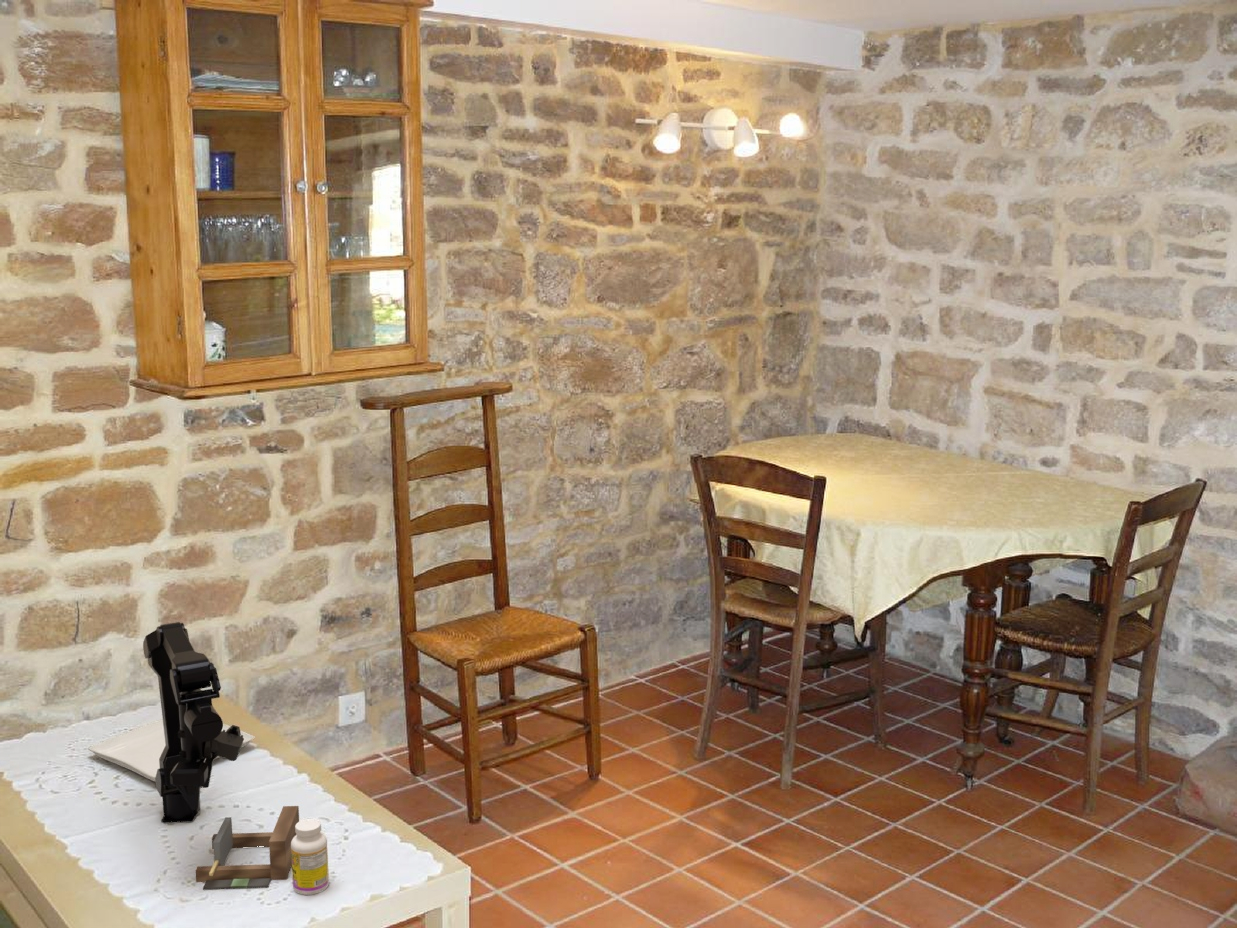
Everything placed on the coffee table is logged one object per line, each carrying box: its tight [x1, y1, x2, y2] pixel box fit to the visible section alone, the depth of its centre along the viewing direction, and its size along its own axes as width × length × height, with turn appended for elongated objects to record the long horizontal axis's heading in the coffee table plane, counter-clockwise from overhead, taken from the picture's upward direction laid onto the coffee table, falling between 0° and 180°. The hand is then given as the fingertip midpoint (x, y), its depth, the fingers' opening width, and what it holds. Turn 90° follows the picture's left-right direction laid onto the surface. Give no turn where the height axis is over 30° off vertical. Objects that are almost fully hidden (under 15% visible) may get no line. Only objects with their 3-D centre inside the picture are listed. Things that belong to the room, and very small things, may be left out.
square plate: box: [87, 718, 256, 782], centre depth 290 cm, size 27×27×4 cm
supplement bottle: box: [291, 818, 330, 896], centre depth 232 cm, size 7×7×13 cm
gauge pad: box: [209, 816, 233, 876], centre depth 239 cm, size 1×15×6 cm, turn 4°
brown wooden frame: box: [195, 805, 300, 891], centre depth 240 cm, size 17×17×8 cm
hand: (200, 797), depth 240 cm, fingers open, 9 cm apart
